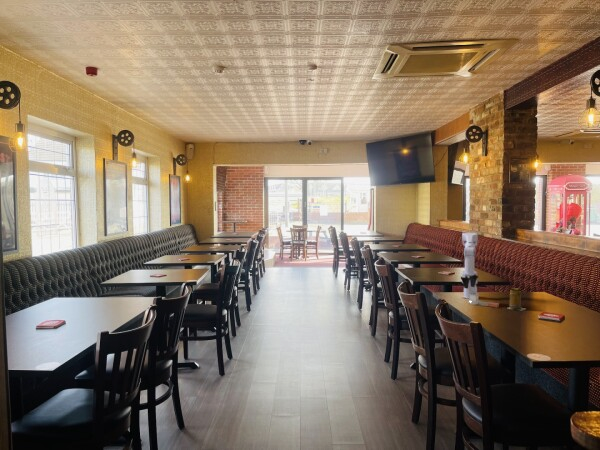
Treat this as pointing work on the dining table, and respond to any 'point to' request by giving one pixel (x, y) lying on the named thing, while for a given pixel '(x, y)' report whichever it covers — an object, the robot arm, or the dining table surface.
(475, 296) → the brushed metal cube
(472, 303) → the metal scoop
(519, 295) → the condiment
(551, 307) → the dining table surface
